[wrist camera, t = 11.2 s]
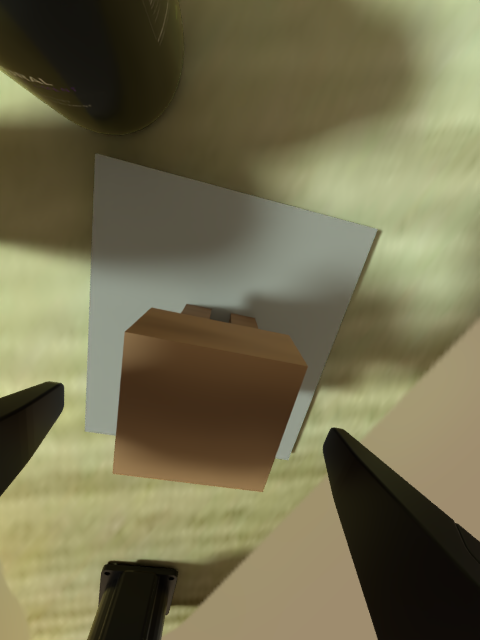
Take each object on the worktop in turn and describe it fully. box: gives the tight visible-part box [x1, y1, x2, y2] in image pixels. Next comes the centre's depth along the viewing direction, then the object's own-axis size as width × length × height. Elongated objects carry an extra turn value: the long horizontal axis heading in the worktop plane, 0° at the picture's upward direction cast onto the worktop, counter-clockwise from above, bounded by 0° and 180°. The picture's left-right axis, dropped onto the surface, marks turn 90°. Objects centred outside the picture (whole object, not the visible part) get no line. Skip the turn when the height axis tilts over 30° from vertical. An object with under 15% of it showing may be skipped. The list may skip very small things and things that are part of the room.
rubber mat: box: [85, 153, 378, 460], centre depth 14 cm, size 16×14×1 cm
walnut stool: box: [113, 304, 308, 492], centre depth 11 cm, size 6×6×6 cm
